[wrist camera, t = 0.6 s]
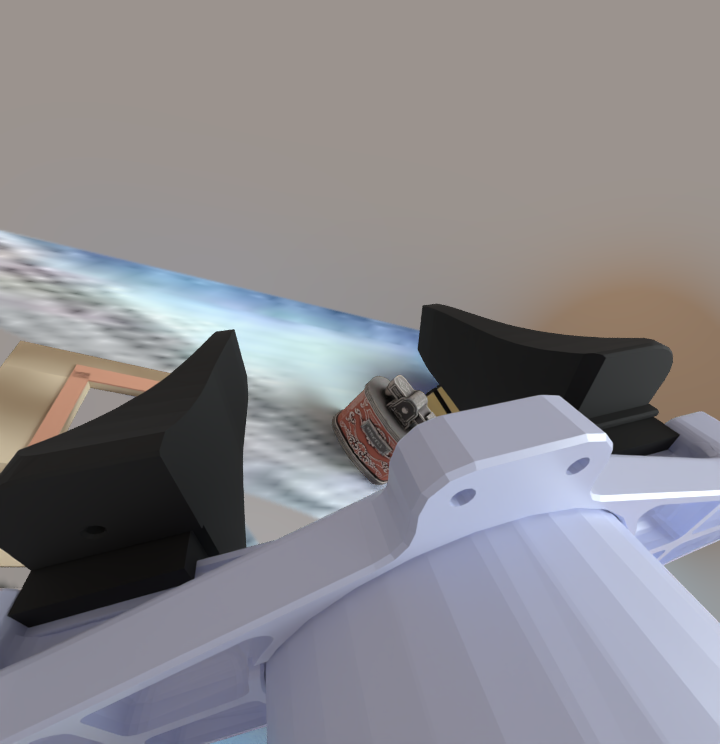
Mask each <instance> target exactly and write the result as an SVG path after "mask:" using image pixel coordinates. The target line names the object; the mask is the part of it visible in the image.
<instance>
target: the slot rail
mask: <svg viewBox="0 0 720 744" xmlns="http://www.w3.org/2000/svg"><path fill="white" fill-rule="evenodd" d="M169 374H171V373H167V372H162V371H157V370H153V369H148V368H144V367H139V366H135V365H130V364H125V363H121V362H116V361H112V360H107V359H102V358H98V357H93V356H89V355H84V354H80V353H75V352H70V351H66V350H61V349H57V348H52V347H47V346H43V345H38V344H34V343H29V342H24V341H20V342H19V343H18V345H17V346H16V347H15V349H14V350H13V351H12V353H11V354H10V355H9V356H8V358H7V359H6V360H5V362H4V363H3V364H2V366H1V367H0V473H1V472H2V471H3V469H4V468H5V467H6V465H7V464H8V463H9V462H10V460H11V459H12V458H13V456H14V455H15V454H16V452H17V451H18V450H20V449H22V448H25V447H28V446H31V445H33V444H36V443H38V442H41V441H44V440H46V439H49V438H51V437H54V436H56V435H59V434H61V433H64V432H66V431H67V430H68V429H69V427H70V425H71V423H72V421H73V419H74V417H75V415H76V414H77V412H78V410H79V408H80V406H81V404H82V402H83V401H84V399H85V397H86V395H87V393H88V391H89V390H90V388H94V389H99V390H105V391H110V392H115V393H121V394H126V395H132V396H139V395H140V394H142V393H144V392H145V391H147V390H148V389H150V388H151V387H153V386H154V385H156V384H157V383H159V382H160V381H161V380H163V379H164V378H166V377H167V376H168V375H169ZM0 567H25V566H24V565H23V564H21V563H20V562H18V561H17V560H16V559H14V558H13V557H12V556H10V555H9V554H7V553H6V552H5V551H3V550H2V549H1V548H0Z"/></svg>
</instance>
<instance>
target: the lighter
mask: <svg viewBox="0 0 720 744" xmlns="http://www.w3.org/2000/svg"><path fill="white" fill-rule="evenodd" d="M427 403H428V399H427V396H426V395H425V394H424V393H423V392H422V391H419V390H414V389H413V388H412V386H411V385H410V384H409V383H408V381H407V380H406V379H405V378H404V377H403V376H402V375H398V376H396V377H395V378H394V379H393V380H392V381H391V382H390V381H389V380H388V379H387V378H385V377H382V376H377V377H374V378H372V379H371V380H370V381H369V382H368V383H367V384H366V386H365V389H364V390H363V391H362V392H361V393H360V394H359V395H358V396H357V397H356V398H355V399H354V400H353V401H352V402H351V403H350V404H349V405H348V406H347V407H346V408H345V409H343V410H341V411H339V412H338V413H337V414H336V415H335V416H334V417H333V419H332V428H333V430H334V432H335V434H336V436H337V438H338V440H339V442H340V444H341V445H342V447H343V448H344V450H345V452H346V453H347V455H348V456H349V458H350V459H351V460H352V461H353V463H354V464H355V465H356V466H357V468H358V469H359V470H360V471H361V472H362V473H363V474H364V475H365V476H366V477H367V478H368V479H369V480H370V481H371V482H372V483H374V484H375V485H383V484H385V483H387V482H388V475H389V462H390V459H391V457H392V455H393V452H394V450H395V447H396V445H397V443H398V442H399V440H400V439H402V438H403V437H404V436H405V435H406V434H407V433H408V432H409V431H411V430H412V429H413V428H414V427H415V426H416V425H418V424H420V423H423V422H425V421H428V420H430V419H433V418H435V417H436V416H435V414H434V413H433V412H431V410H430V409H429V408H428V405H427Z"/></svg>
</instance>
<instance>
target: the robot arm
mask: <svg viewBox="0 0 720 744" xmlns="http://www.w3.org/2000/svg"><path fill="white" fill-rule="evenodd" d="M418 351H419V353H420V355H421V357H422V359H423V361H424V363H425V365H426V367H427V368H428V370H429V371H430V372H431V374H432V375H433V376H434V378H435V379H436V380H437V382H438V383H439V384H440V386H441V387H442V388H443V390H444V391H445V392H446V394H447V395H448V396H449V397H450V399H451V400H452V401H453V403H454V404H455V405H456V407H457V408H458V410H459V411H460V412H455V413H450V414H446V415H441V416H437V417H435V418H433V419H430V420H428V421H425V422H423V423H420V424H418V425H416V426H415V427H414V428H413V429H412V430H411V431H409V432H408V433H407V434H406V435H405V436H404V437H403V438H402V439H400V440H399V442H398V443H397V445H396V447H395V450H394V452H393V455H392V457H391V459H390V462H389V475H388V482H387V486H386V487H385V488H384V489H382V490H380V491H378V492H376V493H373V494H371V495H369V496H367V497H365V498H363V499H361V500H359V501H357V502H355V503H352V504H350V505H348V506H346V507H344V508H342V509H340V510H338V511H336V512H334V513H331V514H329V515H327V516H325V517H323V518H321V519H319V520H317V521H315V522H312V523H310V524H308V525H306V526H304V527H302V528H300V529H298V530H296V531H294V532H291V533H289V534H287V535H285V536H283V537H281V538H279V539H277V540H273V541H270V542H266V543H262V544H258V545H254V546H251V547H247V548H246V534H245V515H244V489H243V446H244V436H245V426H246V416H247V406H248V384H247V374H246V371H245V367H244V363H243V360H242V356H241V352H240V349H239V345H238V341H237V337H236V334H235V330H234V329H233V330H225V331H217V332H215V333H214V334H213V335H212V336H211V337H210V338H209V339H208V340H207V341H206V342H205V343H204V344H203V345H202V346H201V347H200V348H199V349H198V350H197V351H195V352H194V353H193V354H192V355H191V356H190V357H189V358H188V359H187V360H186V361H185V362H184V363H182V364H181V365H180V366H179V367H178V368H177V369H175V370H174V371H173V372H172V373H171V374H169V375H168V376H167V377H166V378H164V379H163V380H161V381H160V382H159V383H157V384H156V385H154V386H153V387H151V388H150V389H148V390H147V391H145V392H144V393H142V394H140V395H139V396H137V397H135V398H133V399H132V400H130V401H128V402H126V403H125V404H123V405H121V406H120V407H118V408H116V409H114V410H112V411H110V412H108V413H106V414H104V415H102V416H100V417H98V418H96V419H94V420H91V421H89V422H87V423H85V424H83V425H81V426H78V427H76V428H74V429H72V430H69V431H66V432H64V433H61V434H59V435H56V436H54V437H51V438H49V439H46V440H44V441H41V442H38V443H36V444H33V445H31V446H28V447H25V448H22V449H20V450H18V451H17V452H16V454H15V455H14V456H13V458H12V459H11V460H10V462H9V463H8V464H7V465H6V467H5V468H4V469H3V471H2V472H1V473H0V548H1V549H2V550H3V551H5V552H6V553H7V554H9V555H10V556H12V557H13V558H14V559H16V560H17V561H18V562H20V563H21V564H23V565H24V566H25V567H27V568H28V569H30V570H31V572H30V574H29V576H28V578H27V579H26V582H25V583H24V585H23V587H22V589H21V590H19V589H10V588H3V589H0V744H210V743H213V742H216V741H220V740H223V739H226V738H229V737H233V736H236V735H239V734H242V733H246V732H249V731H252V730H255V729H259V728H262V727H265V726H267V744H720V623H719V622H718V621H717V620H716V619H715V618H714V617H713V616H712V615H711V614H710V613H709V612H708V611H707V610H706V609H705V608H704V607H703V606H702V605H701V604H700V603H699V602H698V601H697V599H695V598H694V596H693V595H692V594H691V593H690V592H689V591H688V590H687V589H686V588H685V587H684V586H683V585H682V584H681V583H680V582H679V581H678V580H677V579H676V578H675V577H674V576H673V575H672V574H671V573H670V572H669V571H668V570H667V569H666V568H665V567H664V566H663V565H665V564H667V563H669V562H672V561H674V560H676V559H678V558H680V557H683V556H685V555H687V554H689V553H691V552H693V551H696V550H698V549H700V548H703V547H705V546H707V545H710V544H712V543H714V542H717V541H719V540H720V421H718V420H716V419H715V418H713V417H711V416H710V415H708V414H706V413H704V412H695V413H691V414H687V415H684V416H679V417H675V418H673V419H671V420H669V421H668V422H666V423H665V424H663V423H662V422H660V421H659V420H657V419H656V418H654V416H657V415H658V413H659V411H658V410H657V409H656V408H655V407H653V406H651V405H650V404H648V403H649V402H650V400H651V399H652V397H653V396H654V395H655V393H656V391H657V390H658V389H659V387H660V386H661V384H662V383H663V381H664V380H665V378H666V376H667V375H668V373H669V372H670V369H671V366H672V363H673V355H672V351H671V350H670V348H669V347H667V346H665V345H662V344H661V343H659V342H657V341H655V340H652V339H646V338H598V337H583V336H571V335H562V334H555V333H547V332H541V331H535V330H530V329H525V328H520V327H515V326H512V325H507V324H504V323H501V322H497V321H493V320H490V319H487V318H484V317H481V316H477V315H474V314H471V313H468V312H465V311H462V310H459V309H456V308H453V307H449V306H445V305H441V304H432V305H423V308H422V316H421V325H420V333H419V342H418Z"/></svg>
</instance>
